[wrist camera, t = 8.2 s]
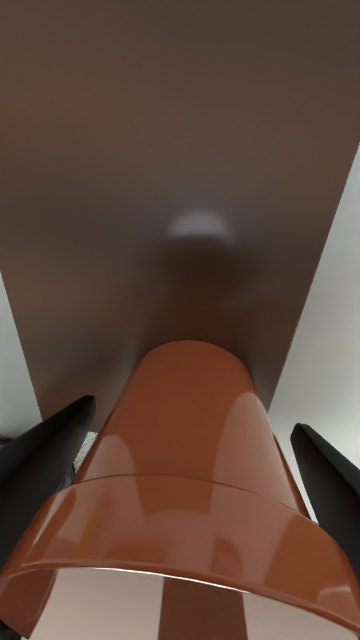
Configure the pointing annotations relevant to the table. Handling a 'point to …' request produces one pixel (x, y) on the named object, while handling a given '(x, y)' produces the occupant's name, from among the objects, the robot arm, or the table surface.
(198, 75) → the walnut board
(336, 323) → the table surface
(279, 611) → the terracotta pot
